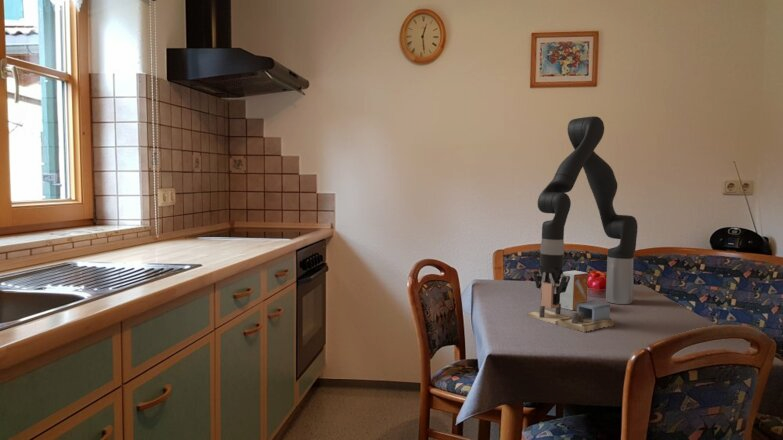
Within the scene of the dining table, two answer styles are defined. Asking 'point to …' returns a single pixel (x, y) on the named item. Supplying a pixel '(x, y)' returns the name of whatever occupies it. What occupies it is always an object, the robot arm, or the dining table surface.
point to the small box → (574, 290)
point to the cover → (594, 310)
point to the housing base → (583, 322)
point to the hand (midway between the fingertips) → (550, 303)
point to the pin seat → (548, 315)
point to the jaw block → (548, 295)
